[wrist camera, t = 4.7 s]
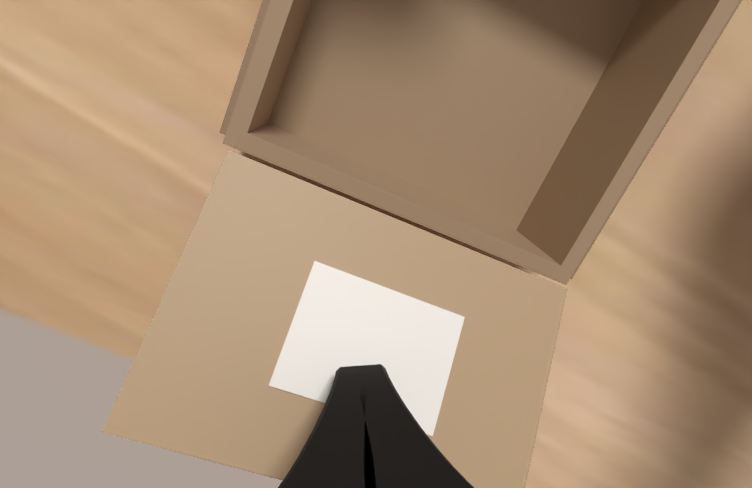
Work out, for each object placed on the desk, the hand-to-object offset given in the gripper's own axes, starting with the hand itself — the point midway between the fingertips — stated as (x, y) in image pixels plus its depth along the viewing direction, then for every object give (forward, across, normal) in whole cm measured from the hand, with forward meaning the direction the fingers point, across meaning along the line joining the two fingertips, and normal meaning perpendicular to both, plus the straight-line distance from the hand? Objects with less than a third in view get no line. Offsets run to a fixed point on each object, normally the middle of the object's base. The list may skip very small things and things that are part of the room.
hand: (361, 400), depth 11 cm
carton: (+7, -4, -8) cm, 12 cm away
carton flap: (+1, 0, -1) cm, 1 cm away
